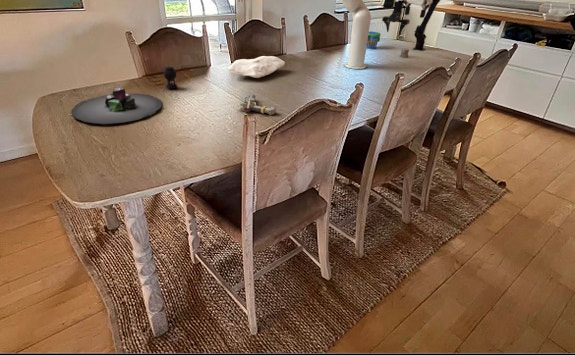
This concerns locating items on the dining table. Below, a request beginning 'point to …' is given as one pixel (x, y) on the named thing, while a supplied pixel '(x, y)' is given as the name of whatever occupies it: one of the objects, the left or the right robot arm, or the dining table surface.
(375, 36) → the snack cup
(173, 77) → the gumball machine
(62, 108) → the dining table surface
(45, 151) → the dining table surface
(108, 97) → the grey flat disc
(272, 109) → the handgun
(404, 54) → the canister
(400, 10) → the right robot arm
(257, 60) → the crumpled cloth
